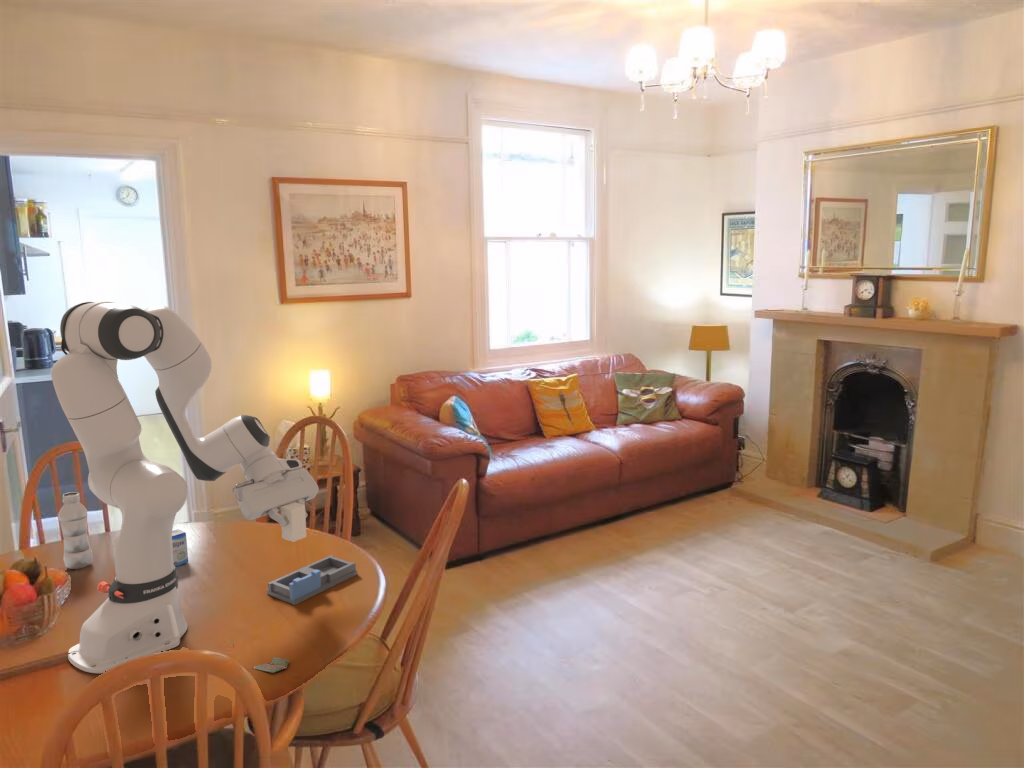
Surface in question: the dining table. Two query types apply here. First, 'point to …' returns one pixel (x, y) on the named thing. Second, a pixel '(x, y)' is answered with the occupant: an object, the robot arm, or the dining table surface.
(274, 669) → the map
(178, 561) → the medicine box
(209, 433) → the robot arm
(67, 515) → the plastic bottle
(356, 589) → the dining table surface
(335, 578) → the two-compartment grey tray
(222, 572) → the dining table surface
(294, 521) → the white rectangular block
